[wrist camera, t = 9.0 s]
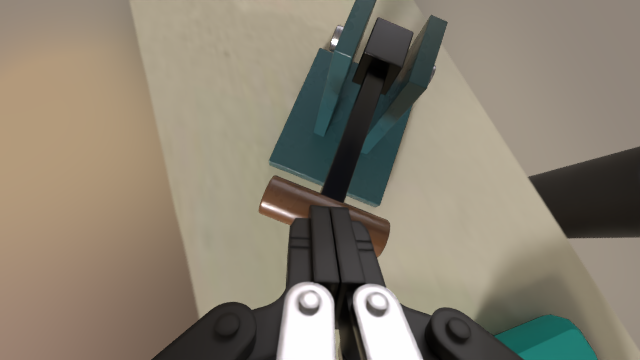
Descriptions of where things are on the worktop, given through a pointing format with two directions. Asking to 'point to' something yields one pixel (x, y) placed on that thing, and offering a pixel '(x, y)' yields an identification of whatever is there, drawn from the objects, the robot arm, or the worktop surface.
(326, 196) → the lever handle
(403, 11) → the worktop surface
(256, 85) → the worktop surface
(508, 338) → the spray bottle
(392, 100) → the teal lever stand
